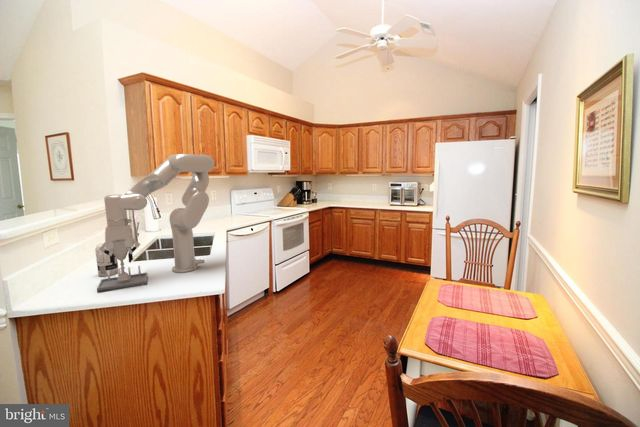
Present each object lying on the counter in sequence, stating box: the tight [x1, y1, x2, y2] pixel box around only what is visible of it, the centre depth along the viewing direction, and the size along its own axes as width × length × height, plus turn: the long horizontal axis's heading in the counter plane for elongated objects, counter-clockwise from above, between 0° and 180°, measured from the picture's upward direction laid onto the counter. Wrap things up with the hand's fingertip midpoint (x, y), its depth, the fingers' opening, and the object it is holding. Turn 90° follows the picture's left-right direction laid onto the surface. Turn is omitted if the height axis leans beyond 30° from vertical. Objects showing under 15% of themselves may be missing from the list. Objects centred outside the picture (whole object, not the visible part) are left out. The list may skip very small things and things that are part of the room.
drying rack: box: [96, 265, 149, 294], centre depth 133 cm, size 18×12×6 cm, turn 119°
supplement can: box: [95, 243, 119, 277], centre depth 146 cm, size 8×8×15 cm
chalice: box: [111, 240, 130, 281], centre depth 132 cm, size 7×7×18 cm
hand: (122, 262), depth 132 cm, fingers closed on chalice, 5 cm apart
